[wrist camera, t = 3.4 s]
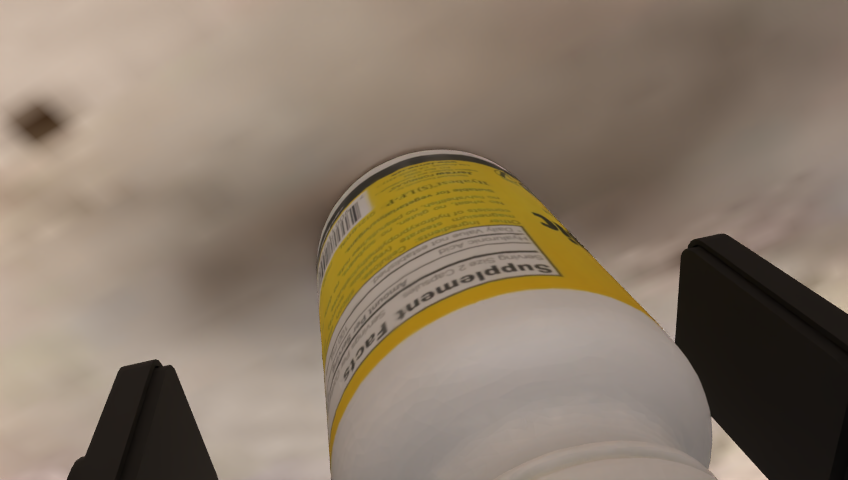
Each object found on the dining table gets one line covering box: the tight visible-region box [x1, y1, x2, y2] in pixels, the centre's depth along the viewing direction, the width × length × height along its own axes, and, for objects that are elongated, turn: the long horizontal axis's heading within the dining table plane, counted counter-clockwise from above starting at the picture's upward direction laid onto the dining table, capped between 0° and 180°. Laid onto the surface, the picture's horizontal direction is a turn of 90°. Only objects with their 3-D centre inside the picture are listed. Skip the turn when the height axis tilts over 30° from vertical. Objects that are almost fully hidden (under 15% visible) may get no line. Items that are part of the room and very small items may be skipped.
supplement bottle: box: [316, 150, 717, 480], centre depth 10 cm, size 5×5×10 cm
